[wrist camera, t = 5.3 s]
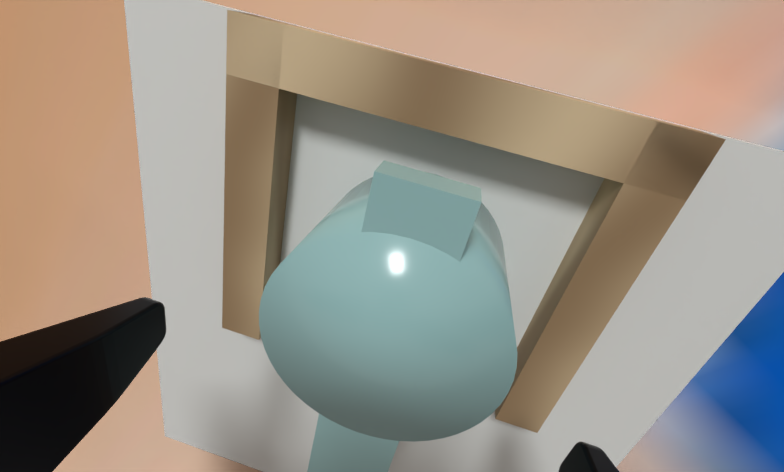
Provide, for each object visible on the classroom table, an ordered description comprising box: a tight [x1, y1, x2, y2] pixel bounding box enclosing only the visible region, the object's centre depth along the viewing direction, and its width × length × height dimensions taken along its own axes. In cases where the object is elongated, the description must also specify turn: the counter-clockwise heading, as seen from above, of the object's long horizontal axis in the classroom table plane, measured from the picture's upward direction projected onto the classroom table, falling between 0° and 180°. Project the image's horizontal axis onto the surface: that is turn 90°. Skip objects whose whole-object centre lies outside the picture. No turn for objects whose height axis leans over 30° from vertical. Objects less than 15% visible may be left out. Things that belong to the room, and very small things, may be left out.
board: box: [124, 0, 784, 472], centre depth 15 cm, size 20×21×1 cm
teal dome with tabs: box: [259, 160, 517, 472], centre depth 12 cm, size 12×6×4 cm, turn 167°
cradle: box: [222, 10, 726, 433], centre depth 12 cm, size 12×10×1 cm
